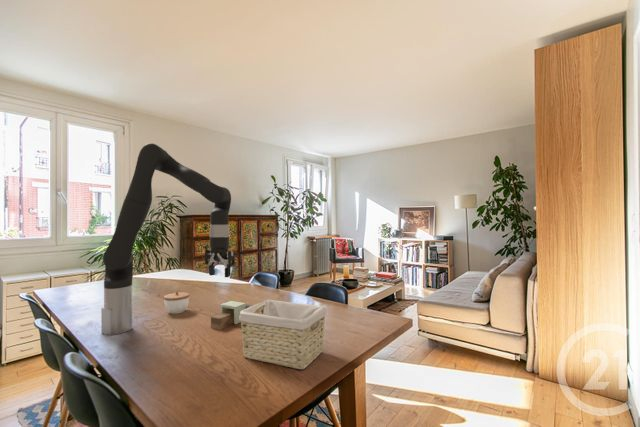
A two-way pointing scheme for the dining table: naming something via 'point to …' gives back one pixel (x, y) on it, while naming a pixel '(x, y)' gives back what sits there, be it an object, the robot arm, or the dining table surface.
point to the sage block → (237, 309)
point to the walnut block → (222, 320)
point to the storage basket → (283, 332)
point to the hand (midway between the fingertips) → (219, 276)
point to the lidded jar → (176, 302)
